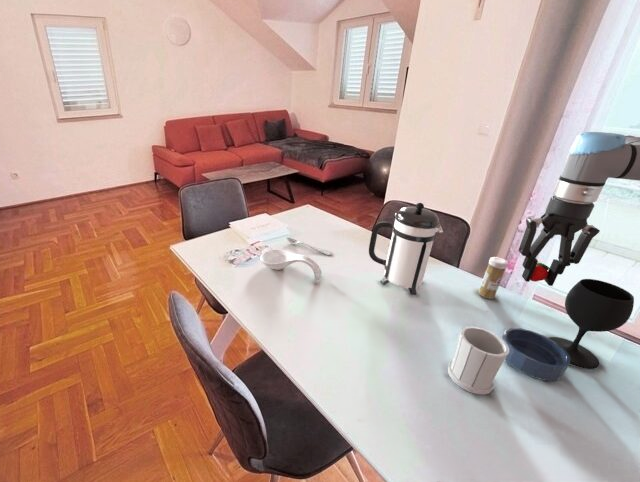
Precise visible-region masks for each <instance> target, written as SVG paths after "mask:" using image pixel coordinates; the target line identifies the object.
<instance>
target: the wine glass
mask: <svg viewBox="0 0 640 482" xmlns="http://www.w3.org/2000/svg"><path fill="white" fill-rule="evenodd" d="M634 305H635V297H634V295H633V294H632V293H631V292H629V291H628V290H626V289H624V288H622V287H621V286H619V285H616V284H614V283H611V282H607V281H603V280H600V279H594V278H582V279H580V280H579V281H578V282H577V283H576V284H574V285H573V286H572V288H571V289H570V290H569V291H568V293H567V295H566V297H565V301H564V308H565V312H566V313H567V315H568V317H569V319H570V320H571V321H572V322H573V323H574V324H575V325H576V326H577V327H578V332H577V334H576V335H575V338H574V339H573V341H572V340H570V339H567V338H564V337H558V336H549V337H548V338H549V339H550V340H552V341H554V342H556V343H557V344H558V345H559V346H561V347H562V348H563V349H564V350H565V351H566V352H567V354H568V355H569V357H570V364H569V365H571V366H573V367H576V368H580V369H585V370H595V369H598V368H599V367H600V364H601V363H600V360H599V358H598V357H597V355H595V354H594V353H593V352H592V351H591V350H589V349H588V348H587V347H585V346H583V345H581V344H580V342H581V341H582V339H583V337H584V336H585V335H586V334H587V333H588V332H595V333H599V332H600V333H601V332H610V331H611V332H612V331H613V330H616V329H619V328H621V327H623V325H625V324H626V323H627V322H628V321H629V319H630V317H631V316H632V314H633V311H634Z"/></svg>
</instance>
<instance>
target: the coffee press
mask: <svg viewBox="0 0 640 482" xmlns="http://www.w3.org/2000/svg"><path fill="white" fill-rule="evenodd" d="M424 205H425V204H424V203H422V202H418V203H416V204H415V206H405V207H401V208H400V209H399V210H397V212H395V214H394V223H392V222H389V221H380V222H377V224H376V225H374V227H373V228H372V231H371V235H370V239H369V245H368V255H369V257H370V259H371V260H372V261H374V262H375V263H377V264H379V265H382V266H384V270H383V271H384V272H383V275H384V276H383V277H382V279H380V283H381V284H382V285H383V286H385V285H388V283H391V284H393V285H395V286H396V287H400V288H405V289H408V292H409V295H411V296H416V295H417V292H418V291H417V287H419V286H421V285H422V283H423V281H424V276H425V272H426V269H427V267H428V266H427V265H428V262H429V259H430V254H431V252H432V247H433V245H434V241H435V240H436V236H437V233H441V234H443V233H444V231H443V227H442V225H441V221H440V220H439V216H438V215H437V213H435V212H434V211H431V210H430V209H427V208H425V206H424ZM381 228H389V229H391V231H392V233H391V238H390V242H389V246H388V253H387V257H386V259H384V258H380V257H378V256H377V255H376V254H375V253H376V252H375V249H376V242H377V238H378V234H379V233H378V232H379V230H380V229H381Z"/></svg>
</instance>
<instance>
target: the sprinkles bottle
mask: <svg viewBox="0 0 640 482" xmlns="http://www.w3.org/2000/svg"><path fill="white" fill-rule="evenodd" d="M508 265H509V261H508V260H506V259H504V258H502V257H499V256H491V257H490V258H489V260H488V266H487V268H486V270H485V272H484V276H483V278H482V281H481V284H480V287H479V289H478V291H477V293H478V295H479V296H481V297H483V298H485V299H488V300H493V299H495V297H496V294H497V292H498V290H499V287H500V284H501V282H502V280H503V276H504V273H505V271H506V269H507V268H508Z"/></svg>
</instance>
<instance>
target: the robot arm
mask: <svg viewBox="0 0 640 482" xmlns="http://www.w3.org/2000/svg"><path fill="white" fill-rule="evenodd" d="M559 175H560V176H559V178H558V179H557V181H556V184H555V186H554V188H553V190H552V196H551V197H550V199H549V201H548V204H547V206H546V208H545V212H544V213H543V214H542V215H540V217H537V218H531V217H527V218H526V219H525V223H526V228H525V230H524V233H523V236H522V238H521V241H520V244H519V247H518V252H519V253H520V254H521V255H522V256H523V257H524V259H523V262H522V267H523V269H524V270H523V272H522V274H521V278H522V279H523V280H524V282H528V283H529V282H530V281H531V280H530V279H531V276H532V274H533V272H534V269H535V267H536V265H537V263H538V262H539V260H538V258H537V257H538V255H539V254H540V253H542V250H543V249H544V248H545V246H546V245H547V244H548V242H549V241H550V240H552V239H553V238H554V237H555V236H560V243H559V249H558V257H557V259H555V258H553V259H552V262H551V264H550V267H549V270H547V271H548V277H547V278H546V279H544V280H543V281H544V282H545V283H546V284H547V285H548V286H549V287H553V286H554V284H555V282H556V280H557V278H558V275H561V276H562V274H563V273H564V271H565V270H566V267H569V266H571V264H574V265H578V264H580V262H581V260H582V258H583V257H584V255H585V253H586V251H587V249H588V248H589V245H590V244H591V242H592V240H593V238H594V237H596V236H597V235H598V234H599V233H600V229H599V228H597V227H596V226H594V225H593V224H588V219H589V218H590V216H591V214H592V212H593V210H594V208H595V203H596V202H597V201H598V199H599V197H600V196H601V195H600V194H601V192H602V190H603V188H604V186H605V185H606V182H607V180H608V179H609V178H610V179H617V180H618V179H620V180H621V179H622V180H628V181H629V180H630V181H638V182H639V181H640V136H634V135H624V134H621V133H615V132H614V133H613V132H602V131H584V132H582V133H579V134H578V135H577V136H576V138H575V140H574V141H573V144H572V145H571V147H570V149H569V151H568V154H567V157H566V160H565V162H564V166H563V168H562V170H561V172H560V174H559ZM541 224H542V226H543V228H542V229H541V230H540V233H539V235H538V236H537V238H536V239H535V240H534V238H535V236H536V233H537V230H538V229H537V228H539V227H540V225H541ZM580 231H581V232H580ZM578 232H580V234H578V237H577V239H576V241H575V243H574V245H573V242H574V240H575V235H576V233H578Z"/></svg>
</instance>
